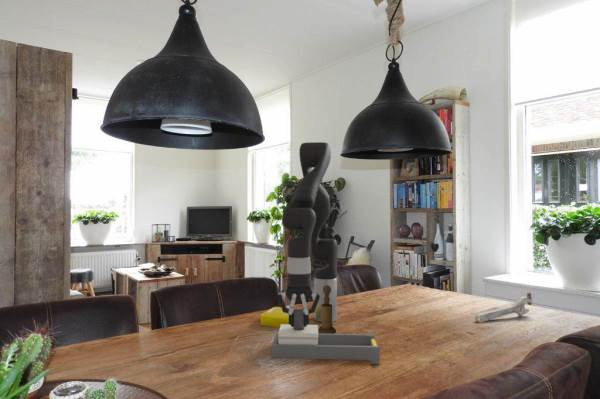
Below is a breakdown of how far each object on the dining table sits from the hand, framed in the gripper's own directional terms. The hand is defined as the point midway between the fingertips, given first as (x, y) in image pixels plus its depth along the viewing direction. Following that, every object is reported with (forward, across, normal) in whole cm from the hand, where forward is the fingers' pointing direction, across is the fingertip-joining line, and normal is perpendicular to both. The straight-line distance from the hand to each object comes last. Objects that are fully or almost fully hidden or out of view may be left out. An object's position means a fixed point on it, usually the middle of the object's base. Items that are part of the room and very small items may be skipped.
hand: (298, 325), depth 130 cm
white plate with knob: (+8, 0, 0) cm, 8 cm away
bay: (+9, -8, 0) cm, 12 cm away
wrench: (+10, -84, -47) cm, 97 cm away
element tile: (+10, +8, -37) cm, 39 cm away
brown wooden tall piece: (+9, -9, -20) cm, 24 cm away
